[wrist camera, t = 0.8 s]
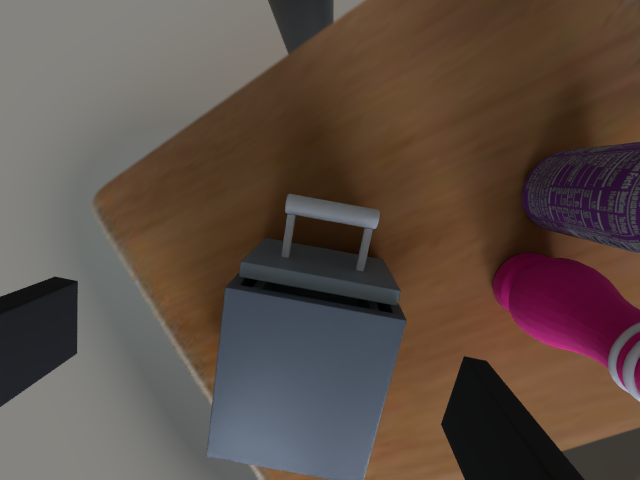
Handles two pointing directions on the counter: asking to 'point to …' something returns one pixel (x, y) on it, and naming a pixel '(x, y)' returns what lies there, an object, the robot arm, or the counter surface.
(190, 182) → the counter surface
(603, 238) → the beverage can
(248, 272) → the drawer
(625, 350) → the pepper mill
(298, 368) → the cabinet
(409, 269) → the counter surface
